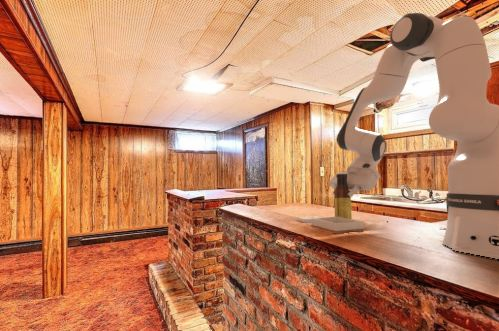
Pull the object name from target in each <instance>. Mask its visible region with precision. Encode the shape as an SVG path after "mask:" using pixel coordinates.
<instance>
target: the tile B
mask: <svg viewBox="0 0 499 331" xmlns="http://www.w3.org/2000/svg"><path fill="white" fill-rule="evenodd" d="M311 217H312V216H298V217H296V219H297V220H298V221H297V222H300V221H301V222H300V223H303V222H312V218H311Z"/></svg>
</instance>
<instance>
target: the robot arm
mask: <svg viewBox="0 0 499 331" xmlns="http://www.w3.org/2000/svg"><path fill="white" fill-rule="evenodd" d="M390 31H391V32H390V34H389V36H390V37H389V38H390V43H391V44H389V45H388V46H387V47H386V48H385V49H384V50H383V54H382V55H381V57H380V59H379V61H378V64H377V66H376V69H375V73H374V76H373V78H372V80H371V82H369V84H368V85H367V86H366V87H363V88H362V89H361V90H360V91H359V93H358V95H357V96H356V98H355V100H354V102H353V104H352V105H351V108H350V111H349V113H348V114H347V117H346V119H345V121H344V123H343V125H342V126H341V128H340V130H339V132H338V133H337V135H336V144H337V145H338V147H339V148H340V149H341V150H345V151H349V152H354V153H356V154H357V156H356V158H354V159H353V160H352V161H351V163H350V164H349V166H348V167H347V168H346V170H345V171H339V172H337V173H336V174H334V176H332V178H331V179H329V182H328V185H329V186H330V187H331V189H332V190H333V191H332V195H333V196H334V197H335V195H334V191H335V189H336V187H337V177H336V175H337V174H347V186H348V189H349V191H348V192H347V194H346V195H347V196H348V197H351V198H352V197H353V196H354V195H355V194H357V193H358V192H360V191H367V192H370V191H371V190H373V189H374V188H375V186H376V184H378V181H379V179H381V177H382V176H381V174H380V173H379V171H378V170H377V168H376V167H377V166H378V165H379V163H380V162H381V160H382V158H383V157H384V154H385V153H386V149H387V142H386V140H385V138H384V136H383V135H382V134H380V133H377V132H374V131H370V130H369V131H368V130H365V129H361V128H358V127H357V126H358V123H359V121H360V119H361V117H362V115H363V112H365V109H366V108H367V107H368V106H370V105H372V104H376V103H383V102H387V101H390V100H393V99H395V98H397V97H398V96H400V94H402V93H403V91H404V89H405V86H406V84H407V81H408V78H409V75H410V73H411V70H412V67H413V65H414V64H415V63H416V62H417V61H418V60H420V61H421V62H427V61H430V60H434V61H435V62H434V63H435V66H436V74H437V80H438V86H439V88H438V90H439V92H438V98H437V99H438V100H437V104H436V105H435V106H434V107H433V108H432V110H431V112H430V114H429V117H428V125H429V128H430V129H431V131H432V132H433V133H435V135H437V136H440V137H442V138H443V139H446V140H449V141H454V142H457V147H456V151H455V155H454V156H453V158H452V159H451V161H450V162H449V163H448V165H447V186H448V192H447V193H446V203H445V205H446V212H447V221H446V228H445V232H444V236H443V239H442V241H441V242H442V243H441V244H442V245H443V246H445V245H446V246H445V247H447V246H448V248H449V249H451V248H452V249H451V250H452V251H453V250H455V251H454V252H456V251H460V252H459V253H461V252H464V253H463V254H466V253H470V254H469V255H471V254H474V255H473V256H476V255H480V256H479V257H481V256H486V257H491V258H490V259H492V258H496V259H495V260H497V259H499V105H498V104H495V103H491V102H489V100H488V98H487V89H488V88H487V87H488V81H489V80H490V79H491V78H492V73H493V72H492V68H491V63H490V59H489V54H488V49H487V46H486V41H485V38H484V36H483V32H482V31H481V29H480V26H479V24H478V23H477V21H476V20H475V19H474V18H473V17H471V16H466V15H465V16H462V15H461V16H458V17H454V18H451V19H450V20H448V21H445V20H442V19H440V18H438V17H436V16H432V15H429V14H428V15H427V14H424V13H421V12H408V13H405V14H404V15H402V16H400V17H399V19H397V21H396V22H395V23H394V25H393V27H392V29H391V30H390ZM486 257H485V258H486Z"/></svg>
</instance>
